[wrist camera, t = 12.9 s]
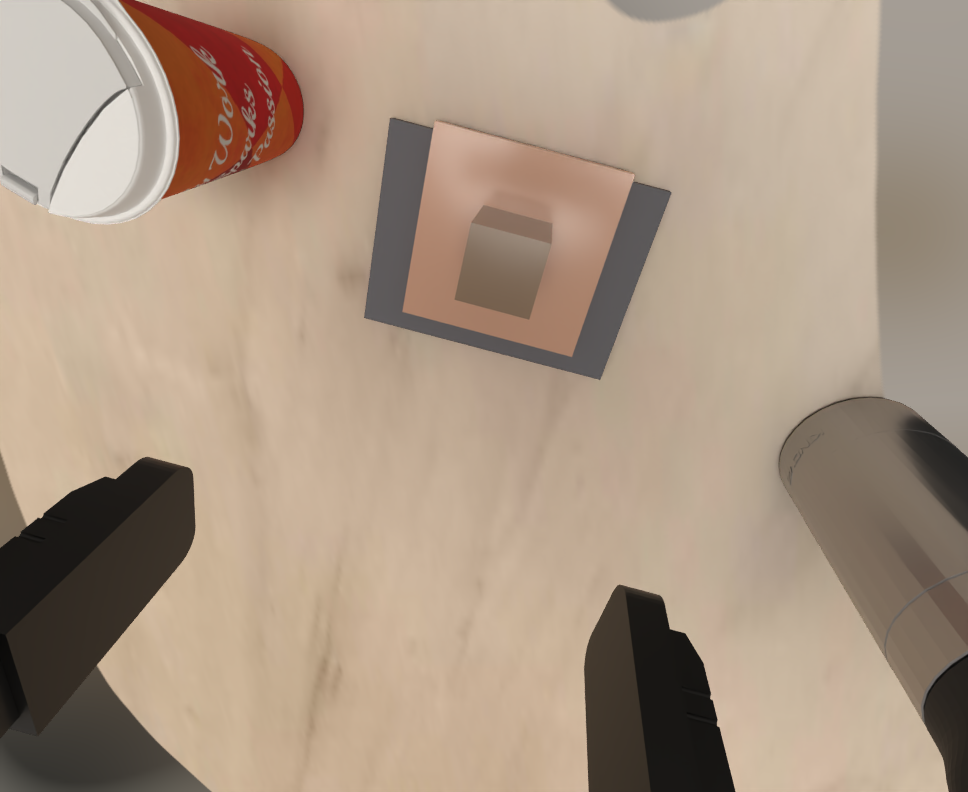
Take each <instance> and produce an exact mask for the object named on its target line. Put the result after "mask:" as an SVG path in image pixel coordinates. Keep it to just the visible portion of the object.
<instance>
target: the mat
mask: <svg viewBox="0 0 968 792" xmlns="http://www.w3.org/2000/svg"><path fill="white" fill-rule="evenodd" d="M432 133H433V128H429V127H426V126H422V125H418V124H414V123H411V122H407V121H403V120H399V119H395V118H390V123H389V131H388V139H387V146H386V154H385V162H384V170H383V177H382V185H381V193H380V201H379V208H378V216H377V224H376V232H375V239H374V247H373V255H372V263H371V270H370V278H369V286H368V293H367V301H366V309H365V317H364V318H367V319H370V320H374V321H378V322H382V323H386V324H389V325H393V326H397V327H401V328H405V329H409V330H412V331H416V332H420V333H424V334H428V335H431V336H435V337H439V338H443V339H447V340H450V341H454V342H458V343H462V344H466V345H469V346H473V347H477V348H481V349H485V350H489V351H492V352H496V353H500V354H504V355H508V356H511V357H515V358H519V359H523V360H527V361H530V362H534V363H538V364H542V365H546V366H549V367H553V368H557V369H561V370H565V371H569V372H572V373H576V374H580V375H584V376H588V377H591V378H595V379H599V380H600V379H601V376H602V374H603V371H604V368H605V366H606V363H607V360H608V358H609V355H610V353H611V350H612V347H613V345H614V342H615V339H616V337H617V334H618V332H619V329H620V326H621V324H622V321H623V318H624V316H625V313H626V311H627V308H628V305H629V303H630V300H631V297H632V295H633V292H634V290H635V287H636V284H637V282H638V279H639V276H640V274H641V271H642V269H643V266H644V263H645V261H646V258H647V256H648V253H649V250H650V248H651V245H652V242H653V240H654V237H655V235H656V232H657V229H658V227H659V224H660V221H661V219H662V216H663V214H664V211H665V208H666V206H667V203H668V200H669V198H670V195H671V192H670V191H667V190H663V189H660V188H656V187H652V186H648V185H645V184H641V183H637V182H633V183H632V186H631V189H630V191H629V194H628V197H627V200H626V203H625V206H624V209H623V211H622V214H621V217H620V220H619V223H618V226H617V229H616V232H615V234H614V237H613V240H612V243H611V246H610V249H609V252H608V255H607V257H606V260H605V263H604V266H603V269H602V272H601V275H600V278H599V280H598V283H597V286H596V289H595V292H594V295H593V298H592V301H591V303H590V306H589V309H588V312H587V315H586V318H585V321H584V323H583V326H582V329H581V332H580V335H579V338H578V341H577V344H576V346H575V349H574V352H573V355H572V357H570V356H566V355H563V354H559V353H555V352H551V351H548V350H544V349H540V348H536V347H533V346H529V345H525V344H521V343H518V342H514V341H510V340H506V339H503V338H499V337H495V336H491V335H487V334H484V333H480V332H476V331H472V330H469V329H465V328H461V327H457V326H454V325H450V324H446V323H442V322H439V321H435V320H431V319H427V318H424V317H420V316H416V315H412V314H409V313H405V312H402V311H403V305H404V299H405V293H406V287H407V281H408V275H409V270H410V264H411V258H412V252H413V246H414V240H415V234H416V228H417V222H418V216H419V210H420V204H421V199H422V193H423V187H424V181H425V175H426V169H427V163H428V157H429V151H430V145H431V139H432Z"/></svg>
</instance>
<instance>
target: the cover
mask: <svg viewBox="0 0 968 792" xmlns="http://www.w3.org/2000/svg"><path fill="white" fill-rule="evenodd" d="M634 177H635V174H634V173H633V172H629V171H625V170H621V169H618V168H614V167H610V166H607V165H603V164H599V163H595V162H592V161H588V160H584V159H581V158H577V157H573V156H569V155H566V154H562V153H558V152H555V151H551V150H547V149H543V148H540V147H536V146H532V145H529V144H525V143H521V142H517V141H514V140H510V139H506V138H503V137H499V136H495V135H491V134H488V133H484V132H480V131H477V130H473V129H469V128H465V127H462V126H458V125H454V124H451V123H447V122H443V121H439V120H436V121H435V122H434V128H433V133H432V139H431V145H430V151H429V157H428V163H427V169H426V175H425V181H424V187H423V193H422V199H421V204H420V210H419V216H418V222H417V228H416V234H415V240H414V246H413V252H412V258H411V264H410V270H409V275H408V281H407V287H406V293H405V299H404V305H403V311H402V312H405V313H409V314H412V315H416V316H420V317H424V318H427V319H431V320H435V321H439V322H442V323H446V324H450V325H454V326H457V327H461V328H465V329H469V330H472V331H476V332H480V333H484V334H487V335H491V336H495V337H499V338H503V339H506V340H510V341H514V342H518V343H521V344H525V345H529V346H533V347H536V348H540V349H544V350H548V351H551V352H555V353H559V354H563V355H566V356H570V357H572V355H573V352H574V349H575V346H576V344H577V341H578V338H579V335H580V332H581V329H582V326H583V323H584V321H585V318H586V315H587V312H588V309H589V306H590V303H591V301H592V298H593V295H594V292H595V289H596V286H597V283H598V280H599V278H600V275H601V272H602V269H603V266H604V263H605V260H606V257H607V255H608V252H609V249H610V246H611V243H612V240H613V237H614V234H615V232H616V229H617V226H618V223H619V220H620V217H621V214H622V211H623V209H624V206H625V203H626V200H627V197H628V194H629V191H630V189H631V186H632V183H633V180H634Z"/></svg>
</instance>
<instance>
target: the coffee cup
mask: <svg viewBox="0 0 968 792" xmlns="http://www.w3.org/2000/svg"><path fill="white" fill-rule="evenodd" d="M302 123H303V100H302V95H301V91H300V88H299V85H298V83H297V81H296V79H295V77H294V75H293V73H292V72H291V70H290V68H289V67H288V66H287V64H286V63H285V62H284V61H283V60H282V59H281V58H280V57H279V56H278V55H277V54H276V53H274V52H273V51H272V50H270V49H269V48H267V47H265V46H264V45H262V44H259V43H257V42H255V41H253V40H250V39H247V38H245V37H242V36H239V35H237V34H234V33H231V32H228V31H225V30H222V29H219V28H216V27H214V26H211V25H208V24H205V23H202V22H199V21H196V20H193V19H190V18H187V17H184V16H181V15H178V14H175V13H172V12H169V11H166V10H163V9H160V8H157V7H154V6H151V5H147V4H144V3H141V2H138V1H135V0H0V182H1V185H2V186H4V187H6V188H7V189H9V190H11V191H12V192H14V193H15V194H17V195H19V196H20V197H22V198H24V199H25V200H27V201H29V202H30V203H32V204H34V205H36V204H38V205H40V206H42V207H44V208H47V209H49V211H48V213H50V214H54V215H59V216H63V217H70V218H72V219H75V220H78V221H83V222H87V223H92V224H116V223H123V222H126V221H129V220H132V219H135V218H138V217H140V216H141V215H143V214H145V213H146V212H148V211H150V210H151V209H152V208H153V207H154V206H155V205H156V204H157V203H158V202H159V201H160V200H161V199H163V198H166V197H169V196H172V195H175V194H178V193H180V192H183V191H186V190H189V189H192V188H194V187H197V186H200V185H203V184H206V183H209V182H211V181H214V180H217V179H220V178H223V177H225V176H228V175H231V174H234V173H236V172H239V171H242V170H245V169H247V168H250V167H253V166H255V165H258V164H261V163H263V162H266V161H268V160H271V159H273V158H275V157H277V156H279V155H281V154H283V153H284V152H285V151H287V150H288V149H289V148H290V147H291V146H292V145H293V144H294V142H295V141H296V139H297V137H298V135H299V133H300V130H301V127H302Z"/></svg>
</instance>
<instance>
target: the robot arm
mask: <svg viewBox="0 0 968 792" xmlns="http://www.w3.org/2000/svg"><path fill="white" fill-rule="evenodd" d="M779 469H780V476H781V479H782V481H783V484H784V486H785V488H786V489H787V491H788V493H789V495H790V496H791V498H792V500H793V501H794V503H795V505H796V507H797V508H798V510H799V512H800V513H801V515H802V517H803V518H804V520H805V522H806V524H807V526H808V527H809V529H810V531H811V533H812V534H813V536H814V538H815V539H816V541H817V543H818V544H819V546H820V548H821V550H822V551H823V553H824V555H825V556H826V558H827V560H828V561H829V563H830V565H831V567H832V568H833V570H834V572H835V573H836V575H837V577H838V578H839V580H840V582H841V584H842V585H843V587H844V589H845V590H846V592H847V594H848V595H849V597H850V599H851V601H852V602H853V604H854V606H855V607H856V609H857V611H858V612H859V614H860V616H861V618H862V619H863V621H864V623H865V624H866V626H867V628H868V629H869V631H870V633H871V634H872V636H873V638H874V640H875V641H876V643H877V645H878V646H879V648H880V650H881V651H882V653H883V655H884V657H885V658H886V660H887V662H888V663H889V665H890V667H891V668H892V670H893V671H894V673H895V675H896V676H897V678H898V680H899V682H900V683H901V685H902V687H903V688H904V690H905V692H906V694H907V695H908V697H909V699H910V700H911V702H912V704H913V705H914V707H915V709H916V711H917V712H918V714H919V716H920V717H921V719H922V721H923V722H924V724H925V726H926V728H927V730H928V731H929V733H930V735H931V737H932V738H933V740H934V742H935V744H936V745H937V747H938V749H939V751H940V753H941V755H942V757H943V760H944V765H945V771H946V780H947V785H948V790H949V792H968V457H967V456H966V455H964V454H963V453H962V452H961V451H960V450H959V449H958V448H957V447H956V446H955V445H953V444H952V443H951V442H950V441H949V440H948V439H946V438H945V437H944V436H943V435H942V434H941V433H939V432H938V431H937V430H936V429H935V428H934V427H932V426H931V425H930V424H929V423H928V422H927V421H926V420H924V419H923V418H922V417H921V416H920V415H919V414H918V413H916V412H915V411H914V410H913V409H911V408H909V407H907V406H906V405H904V404H902V403H900V402H896V401H892V400H889V399H883V398H859V399H851V400H847V401H844V402H840V403H836V404H834V405H831V406H829V407H827V408H824V409H822V410H820V411H818V412H817V413H815V414H814V415H812V416H811V417H809V418H807V419H806V420H805V421H804V422H803V423H802V424H801V425H799V426H798V427H797V428H796V429H795V430H794V432H793V433H792V434H791V436H790V437H789V438H788V439H787V441H786V443H785V445H784V447H783V450H782V452H781V456H780V461H779ZM194 535H195V507H194V483H193V473H192V471H191V469H190V468H188V467H184V466H180V465H177V464H173V463H169V462H165V461H162V460H158V459H154V458H150V457H145V458H142V459H140V460H138V461H137V462H136V463H134V464H133V465H132V466H131V467H130V468H129V469H127V470H126V471H125V472H124V473H123V474H121V475H120V476H119V477H118V478H117V479H112V478H108V477H103V478H101V479H99V480H97V481H94V482H92V483H90V484H88V485H85V486H83V487H81V488H79V489H76V490H74V491H72V492H70V493H69V494H68V495H66V496H65V497H64V498H63V499H61V500H60V501H59V502H58V503H56V504H55V505H54V506H53V507H51V508H50V509H49V510H48V511H46V512H45V513H44V515H43V517H42V518H37V519H36V520H35V521H34V522H32V523H31V524H30V525H29V526H27V527H26V528H25V529H24V530H22V531H21V534H20V536H19V537H14V538H12V539H11V540H10V541H9V542H7V543H6V544H5V545H3V546H2V547H1V548H0V738H1V737H2V736H3V735H4V734H5V733H6V731H7V730H8V729H12V730H16V731H20V732H23V733H27V734H31V735H34V736H39V734H40V733H41V732H42V731H43V729H44V728H45V727H46V726H47V725H48V723H49V722H50V721H51V720H52V719H53V717H54V716H55V715H56V714H57V713H58V711H59V710H60V709H61V708H62V706H63V705H64V704H65V703H66V702H67V700H68V699H69V698H70V697H71V696H72V694H73V693H74V692H75V691H76V690H77V688H78V687H79V686H80V685H81V684H82V682H83V681H84V680H85V679H86V677H87V676H88V675H89V674H90V673H91V671H92V670H93V669H94V668H95V667H96V665H97V664H98V663H99V662H100V661H101V659H102V658H103V657H104V656H105V654H106V653H107V652H108V651H109V650H110V648H111V647H112V646H113V645H114V644H115V642H116V641H117V640H118V639H119V638H120V636H121V635H122V634H123V633H124V632H125V630H126V629H127V628H128V627H129V625H130V624H131V623H132V622H133V621H134V619H135V618H136V617H137V616H138V615H139V613H140V612H141V611H142V610H143V609H144V607H145V606H146V605H147V604H148V602H149V601H150V600H151V599H152V598H153V596H154V595H155V594H156V593H157V592H158V590H159V589H160V588H161V587H162V586H163V584H164V583H165V582H166V581H167V579H168V578H169V577H170V576H171V575H172V573H173V572H174V571H175V570H176V569H177V567H178V566H179V565H180V564H181V562H182V561H183V560H184V558H185V557H186V555H187V553H188V551H189V549H190V547H191V545H192V542H193V539H194ZM584 676H585V703H586V729H587V756H588V783H589V792H735V788H734V784H733V780H732V776H731V772H730V768H729V764H728V760H727V756H726V752H725V748H724V744H723V740H722V736H721V732H720V728H719V727H717V716H716V712H715V708H714V704H713V700H711V699H710V695H711V692H710V688H709V684H708V680H707V676H706V672H705V668H704V664H703V662H702V660H701V659H700V657H699V655H698V654H697V652H696V650H695V649H694V647H693V645H692V644H691V642H690V640H689V639H688V637H687V636H686V634H685V633H681V632H678V631H674V630H670V628H669V623H668V618H667V613H666V609H665V604H664V601H663V599H662V597H661V596H660V595H657V594H653V593H649V592H645V591H642V590H638V589H634V588H631V587H627V586H623V585H618V586H617V587H616V588H615V590H614V591H613V593H612V595H611V597H610V599H609V601H608V603H607V605H606V607H605V609H604V611H603V613H602V615H601V617H600V619H599V621H598V623H597V625H596V627H595V629H594V631H593V632H592V635H591V637H590V639H589V643H588V646H587V651H586V656H585V666H584Z"/></svg>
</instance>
